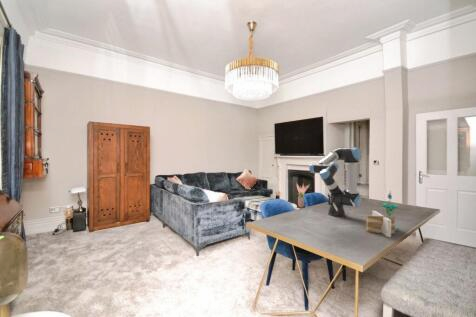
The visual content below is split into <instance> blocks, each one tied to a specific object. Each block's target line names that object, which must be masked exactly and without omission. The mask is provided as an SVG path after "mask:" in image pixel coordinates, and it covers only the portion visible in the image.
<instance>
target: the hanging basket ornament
mask: <svg viewBox="0 0 476 317" xmlns="http://www.w3.org/2000/svg"><path fill="white" fill-rule="evenodd" d="M392 196H393V195H392V191H391V190H389V193H388V194H387V198H388V201H387V202H386V203H382V204H381V207H382V208H385V211H386V212H385V213H386V214H387V216H389V217H393V214H394V212H395V210H396V209H398V208H399V205H397V204H394V203H392V201H391V199H393V197H392ZM397 230H399V227H398V226H396V225H394V232H395V231H397Z"/></svg>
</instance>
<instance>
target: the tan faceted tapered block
mask: <svg viewBox="0 0 476 317" xmlns="http://www.w3.org/2000/svg"><path fill="white" fill-rule="evenodd" d="M383 217H387V218H388V219H390V220H391V235H392V234H395V231H394V226H395V222H396V221H395V219H396V218H395V217H394V216H391V217H389V216H388V215H387V216H386V215H383V216H372V214H369V215H368V214H366V222H365V223H366V227H365V231H366V232H367V233H379V234H380V233H382V232H381V225H383Z"/></svg>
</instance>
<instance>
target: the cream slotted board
mask: <svg viewBox="0 0 476 317" xmlns="http://www.w3.org/2000/svg"><path fill="white" fill-rule="evenodd" d="M371 215H372V216H384V215H383V214H381V213H380V212H378V211H376V210H371ZM381 233H382V234H383V235H384V236H385V237H387V238H391V237H392V234H391V220H390V219H388V218H387V217H383V225H381Z"/></svg>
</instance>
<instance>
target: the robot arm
mask: <svg viewBox="0 0 476 317" xmlns="http://www.w3.org/2000/svg"><path fill="white" fill-rule="evenodd" d="M361 160H362V152H361V150H360V148H359V147H339V148H335V149H332V151H330V152H329V153H328V155H326V156H325V157H323V158H322V159H320V160H319V161H318V162H316V163H310V165H309V168H308V169H309V172H310V173H311V174H312V173H313V174H319V176H320V178H321V180H322V181H323V182H324V185H325V186H326V188H327V189H328V193H327V197H328V198H327V199H328V203H327V204H328V205H329V208H328V210H327V214H328V215H330V216H333V217H345V216H346V212H345V208H344V206H346V207H347V206H348V207H352V208H353V207H354V208H358V207H359V206H360V205H361V203H362V198H363V196H362V195H361V194H360V191H359V190H358V164H359V163H360V161H361ZM337 161H344V164H345V167H346V169H345V172H346V173H345V175H346V176H345V178H346V188H343V189H341V188H340V186H339V185H338V184H337V182H336V180H335V178H334V177H335V175H336V173H337V172H338V170H339V167H340V166H339V164H338V163H336V162H337Z"/></svg>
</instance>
